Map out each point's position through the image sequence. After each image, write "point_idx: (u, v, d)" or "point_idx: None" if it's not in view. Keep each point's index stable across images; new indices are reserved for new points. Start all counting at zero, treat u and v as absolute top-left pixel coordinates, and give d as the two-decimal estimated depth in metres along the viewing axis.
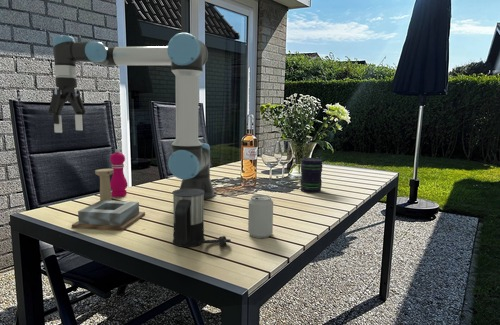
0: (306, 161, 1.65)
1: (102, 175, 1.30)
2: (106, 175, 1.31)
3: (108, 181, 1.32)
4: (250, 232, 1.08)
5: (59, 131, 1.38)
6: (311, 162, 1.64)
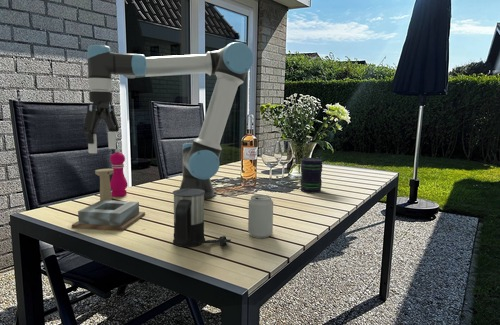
0: (306, 161, 1.65)
1: (102, 175, 1.30)
2: (106, 175, 1.31)
3: (108, 181, 1.32)
4: (250, 232, 1.08)
5: (94, 152, 1.24)
6: (311, 162, 1.64)
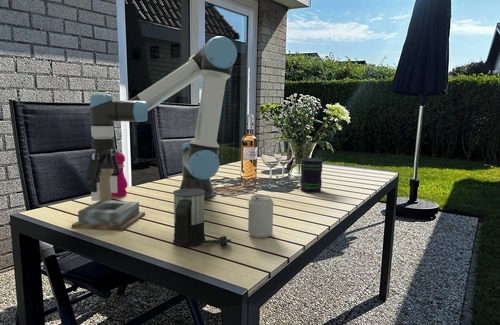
0: (306, 161, 1.65)
1: (102, 175, 1.30)
2: (106, 175, 1.31)
3: (108, 181, 1.32)
4: (250, 232, 1.08)
5: (97, 199, 1.26)
6: (311, 162, 1.64)
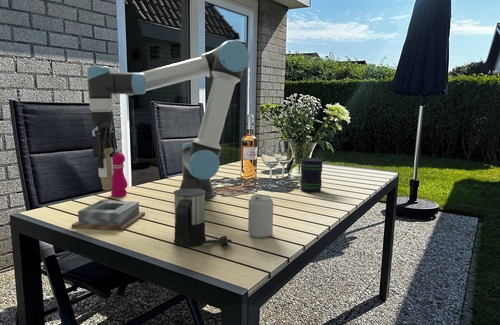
0: (306, 161, 1.65)
1: None
2: (106, 154, 1.29)
3: (108, 160, 1.31)
4: (250, 232, 1.08)
5: (104, 175, 1.30)
6: (311, 162, 1.64)
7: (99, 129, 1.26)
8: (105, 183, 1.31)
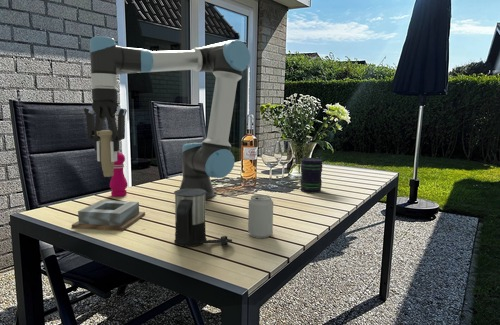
0: (306, 161, 1.65)
1: None
2: (99, 136, 1.16)
3: (102, 143, 1.16)
4: (250, 232, 1.08)
5: None
6: (311, 162, 1.64)
7: (92, 107, 1.15)
8: None
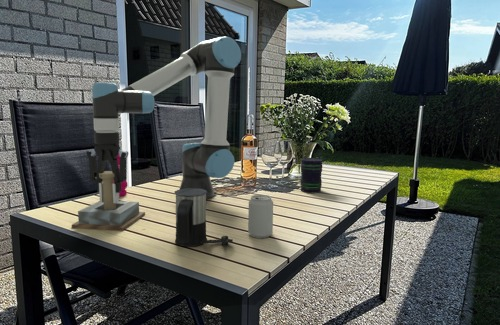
0: (306, 161, 1.65)
1: None
2: (101, 178, 1.18)
3: (104, 185, 1.18)
4: (250, 232, 1.08)
5: None
6: (311, 162, 1.64)
7: (94, 150, 1.18)
8: None
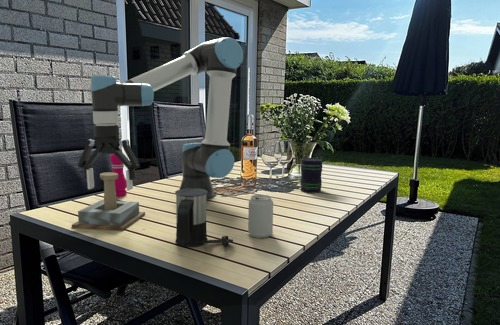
0: (306, 161, 1.65)
1: None
2: (102, 179, 1.18)
3: (106, 187, 1.18)
4: (250, 232, 1.08)
5: None
6: (311, 162, 1.64)
7: None
8: None
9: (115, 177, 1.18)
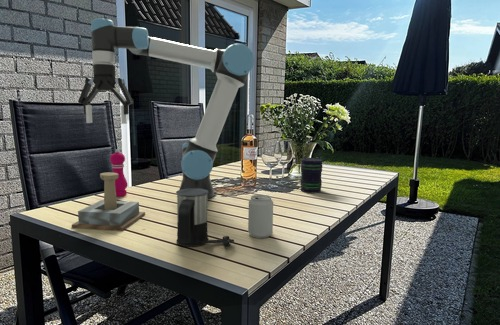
0: (306, 161, 1.65)
1: None
2: (102, 179, 1.18)
3: (106, 187, 1.18)
4: (250, 232, 1.08)
5: None
6: (311, 162, 1.64)
7: (93, 81, 1.32)
8: None
9: (115, 177, 1.18)
